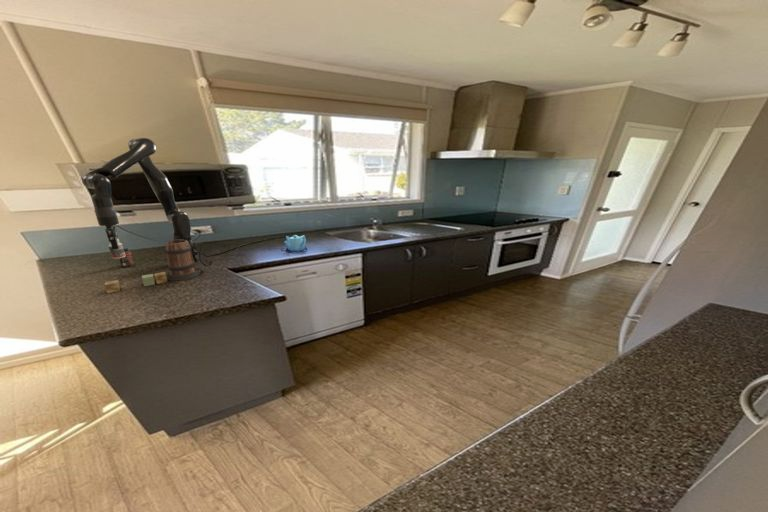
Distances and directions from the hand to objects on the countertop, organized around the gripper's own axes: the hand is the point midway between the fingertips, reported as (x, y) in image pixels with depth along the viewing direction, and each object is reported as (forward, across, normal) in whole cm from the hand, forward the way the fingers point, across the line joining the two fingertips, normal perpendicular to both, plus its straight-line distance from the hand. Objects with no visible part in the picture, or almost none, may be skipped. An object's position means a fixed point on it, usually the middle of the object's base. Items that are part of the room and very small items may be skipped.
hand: (116, 247), depth 148 cm
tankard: (+20, -6, -29) cm, 35 cm away
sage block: (+19, -11, -10) cm, 24 cm away
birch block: (+19, -11, +4) cm, 23 cm away
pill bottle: (+6, 0, 0) cm, 6 cm away
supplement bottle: (+20, +31, 0) cm, 37 cm away
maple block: (+20, -11, -15) cm, 27 cm away
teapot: (+20, +5, -98) cm, 100 cm away
